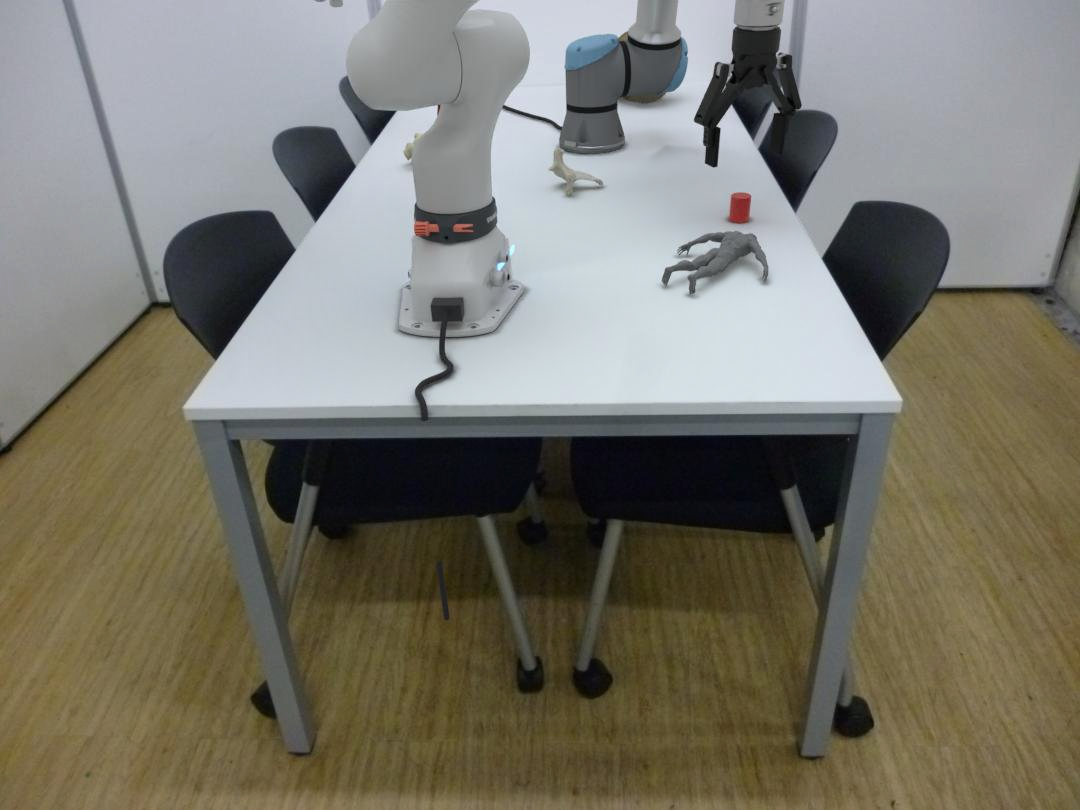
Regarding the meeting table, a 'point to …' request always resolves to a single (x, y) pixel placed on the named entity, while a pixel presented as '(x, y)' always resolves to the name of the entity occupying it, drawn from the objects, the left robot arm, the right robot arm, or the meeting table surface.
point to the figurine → (717, 256)
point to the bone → (569, 172)
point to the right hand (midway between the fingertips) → (743, 159)
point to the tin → (740, 207)
